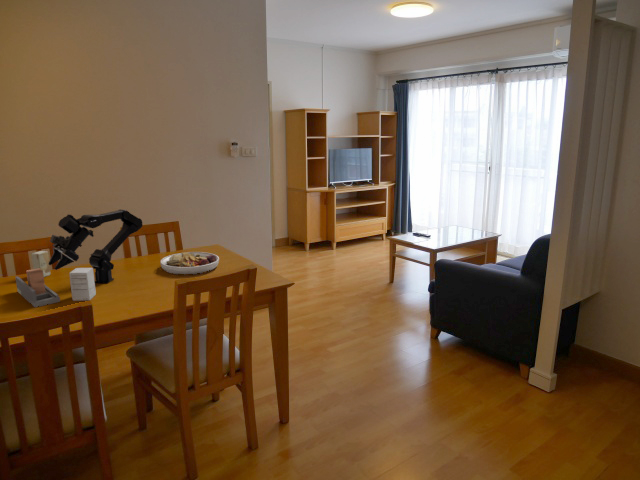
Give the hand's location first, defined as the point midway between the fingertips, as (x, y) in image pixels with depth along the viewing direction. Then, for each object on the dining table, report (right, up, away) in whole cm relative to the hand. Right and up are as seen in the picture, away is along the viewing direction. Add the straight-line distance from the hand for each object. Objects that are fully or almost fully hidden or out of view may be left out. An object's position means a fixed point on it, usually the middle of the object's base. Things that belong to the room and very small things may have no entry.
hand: (52, 266), depth 202 cm
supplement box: (+15, -14, -2) cm, 20 cm away
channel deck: (-5, -13, -1) cm, 14 cm away
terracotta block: (-5, -11, -2) cm, 12 cm away
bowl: (+49, -3, +44) cm, 66 cm away
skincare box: (-20, -6, +26) cm, 34 cm away
